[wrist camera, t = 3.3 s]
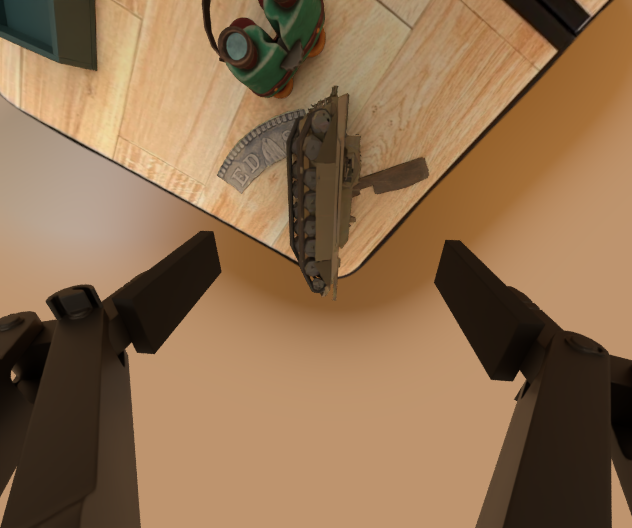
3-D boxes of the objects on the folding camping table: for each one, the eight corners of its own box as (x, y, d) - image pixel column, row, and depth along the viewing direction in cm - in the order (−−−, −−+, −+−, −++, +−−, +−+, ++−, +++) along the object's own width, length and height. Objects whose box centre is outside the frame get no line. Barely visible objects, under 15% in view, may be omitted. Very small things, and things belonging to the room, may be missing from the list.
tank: (283, 91, 25) (376, 96, 27) (291, 288, 35) (359, 279, 37) (299, 70, 17) (426, 79, 20) (303, 328, 27) (388, 315, 29)
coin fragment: (233, 198, 32) (232, 199, 31) (208, 163, 30) (206, 163, 30) (320, 141, 28) (320, 141, 27) (297, 96, 26) (296, 95, 26)
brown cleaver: (326, 211, 31) (326, 212, 31) (320, 190, 30) (319, 191, 30) (429, 179, 29) (430, 180, 28) (425, 155, 28) (426, 155, 27)
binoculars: (187, -226, 12) (334, -35, 14) (264, -62, 21) (345, 39, 23) (116, -24, 16) (240, 106, 17) (209, 40, 25) (283, 120, 27)
